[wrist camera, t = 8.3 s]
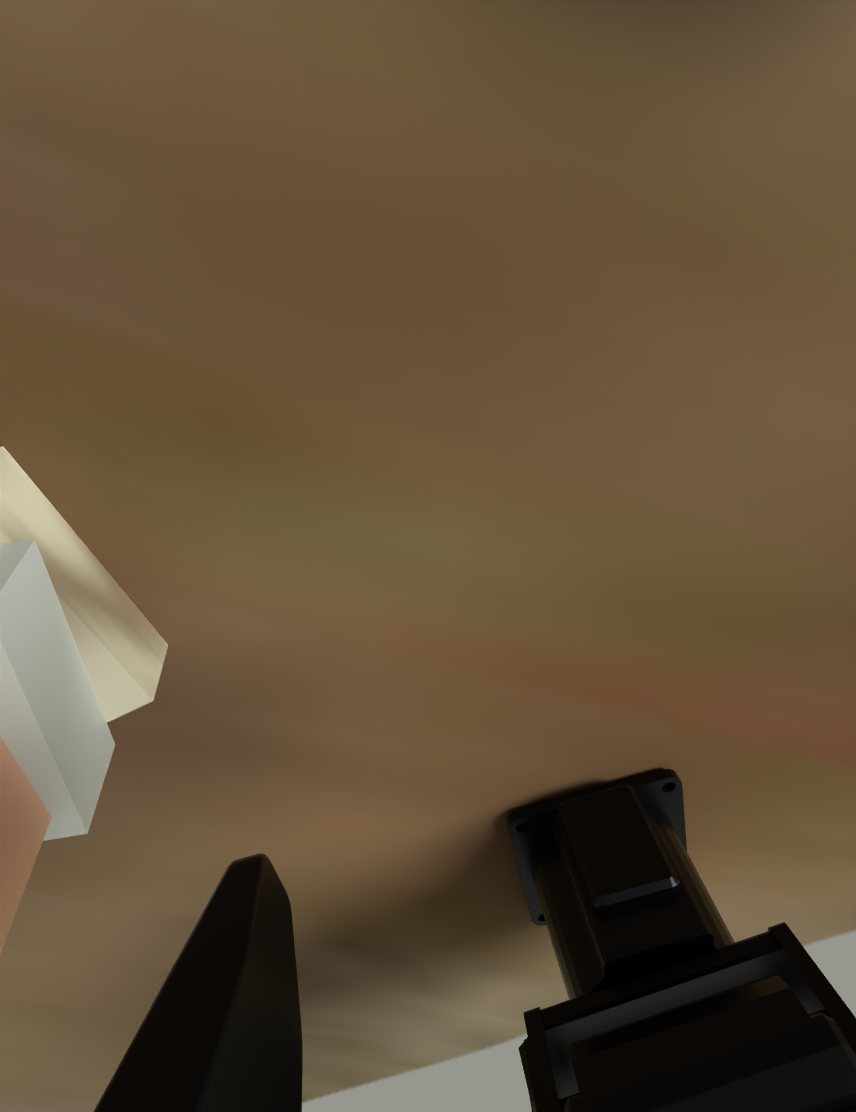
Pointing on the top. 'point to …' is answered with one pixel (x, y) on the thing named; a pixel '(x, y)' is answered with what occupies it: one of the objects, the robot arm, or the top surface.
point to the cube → (17, 836)
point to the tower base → (85, 598)
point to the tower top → (48, 696)
